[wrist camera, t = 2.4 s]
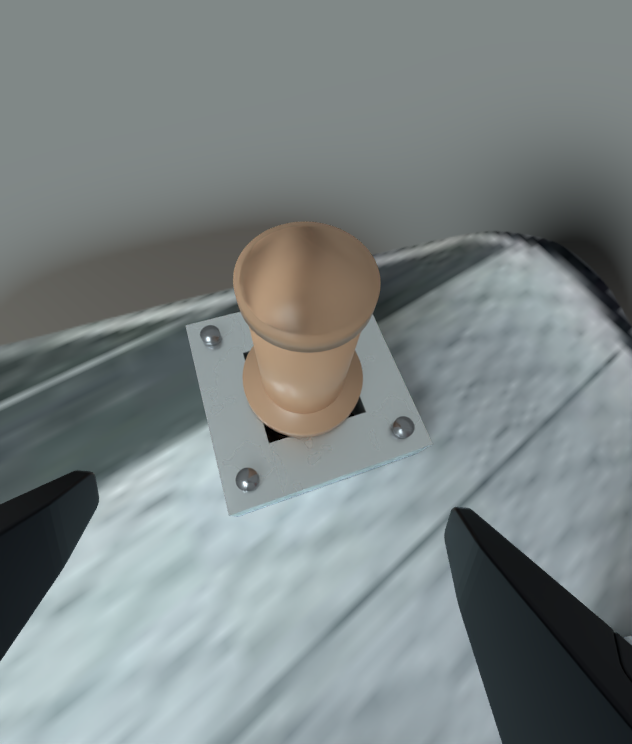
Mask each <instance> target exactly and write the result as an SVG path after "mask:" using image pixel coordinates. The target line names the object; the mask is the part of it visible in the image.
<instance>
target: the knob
mask: <svg viewBox="0 0 632 744" xmlns="http://www.w3.org/2000/svg"><path fill="white" fill-rule="evenodd" d="M233 283H234V284H233V285H234V291H235V295H236V299H237V303H238V306H239V309H240V312H241V315H242V316H243V318H244V320H245V322H246V323H247V324H248V326H249V328H250V332H251V337H252V341H253V345H254V346H253V347H252V348H251V350H250V352H249V353H248V355H247V358H246V360H245V363H244V368H243V376H242V377H243V387H244V392H245V394H246V397H247V400H248V402H249V405H250V407H251V409H252V410H253V412H254V413H255V415H256V416H257V417H258V418H259V419H260V420H261V421H262V422H263V423H264V424H265V425H266V426H268V427H269V428H271V429H273V430H274V431H276V432H279V433H281V434H284V435H287V436H292V437H314V436H318V435H322V434H325V433H327V432H329V431H331V430H333V429H335V428H336V427H338V426H339V425H340V424H342V423H343V422H344V421H345V420H346V419H347V418H348V416H349V415H350V414H351V412H352V411H353V409H354V407H355V405H356V403H357V401H358V399H359V397H360V394H361V390H362V385H363V371H362V366H361V363H360V360H359V357H358V355H357V353H356V351H355V348H356V345H357V342H358V339H359V336H360V333H361V331H362V330H363V329H364V328H365V327H366V325H367V324H368V322H369V320H370V319H371V317H372V314H373V312H374V309H375V306H376V303H377V301H378V297H379V293H380V285H381V282H380V274H379V270H378V266H377V264H376V262H375V260H374V258H373V256H372V254H371V253H370V252H369V250H368V249H367V248H366V247H365V246H364V245H363V244H362V243H361V242H360V241H359V240H358V239H356V238H355V237H354V236H352V235H350V234H349V233H347V232H345V231H343V230H341V229H339V228H336V227H333V226H330V225H326V224H323V223H316V222H293V223H287V224H283V225H279V226H276V227H273V228H271V229H269V230H267V231H265V232H263V233H261V234H260V235H258V236H257V237H255V238H254V239H253V240H252V241H251V242H250V243H249V244H248V245H247V246H246V247H245V248H244V250H243V251H242V253H241V254H240V256H239V258H238V260H237V262H236V265H235V269H234V276H233Z"/></svg>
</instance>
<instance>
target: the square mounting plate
mask: <svg viewBox="0 0 632 744" xmlns="http://www.w3.org/2000/svg"><path fill="white" fill-rule="evenodd" d="M186 329H187V333H188V338H189V342H190V347H191V351H192V355H193V360H194V364H195V369H196V373H197V377H198V382H199V386H200V390H201V395H202V399H203V404H204V408H205V412H206V417H207V421H208V426H209V430H210V434H211V439H212V443H213V448H214V452H215V456H216V461H217V465H218V469H219V474H220V478H221V483H222V487H223V491H224V496H225V500H226V505H227V509H228V513H229V516H236V517H239V516H241V515H244V514H247V513H250V512H253V511H256V510H258V509H261V508H264V507H267V506H270V505H273V504H275V503H278V502H281V501H284V500H287V499H290V498H292V497H295V496H298V495H301V494H304V493H307V492H309V491H312V490H315V489H318V488H321V487H324V486H326V485H329V484H332V483H335V482H338V481H341V480H343V479H346V478H349V477H352V476H355V475H358V474H360V473H363V472H366V471H369V470H372V469H375V468H377V467H380V466H383V465H386V464H389V463H392V462H394V461H397V460H400V459H403V458H406V457H409V456H411V455H414V454H417V453H419V452H420V451H422V450H424V449H426V448H427V447H429V446H431V445H432V444H433V443H432V441H431V438H430V436H429V434H428V432H427V430H426V428H425V426H424V423H423V421H422V419H421V417H420V415H419V413H418V410H417V408H416V406H415V404H414V402H413V400H412V398H411V395H410V393H409V391H408V389H407V387H406V385H405V383H404V380H403V378H402V376H401V374H400V372H399V370H398V367H397V365H396V363H395V361H394V359H393V357H392V355H391V352H390V350H389V348H388V346H387V344H386V342H385V339H384V337H383V335H382V333H381V331H380V329H379V327H378V324H377V322H376V320H375V318H374V316H373V314H372V317H371V319H370V320H369V322H368V324H367V325H366V327H365V328H364V329H363V330H362V331H361V333H360V336H359V339H358V342H357V345H356V348H355V351H356V353H357V355H358V357H359V360H360V363H361V366H362V371H363V385H362V390H361V394H360V397H359V399H358V401H357V403H356V405H355V407H354V409H353V413H354V415H355V416H352V417H349V418H347V419H346V420H345V421H344V422H343V423H342V424H340V425H339V426H338V427H336V428H335V429H333V430H331V431H329V432H327V433H325V434H322V435H318V436H314V437H292V436H290V437H287V438H284V439H281V440H278V441H275V442H272V443H269V440H268V437H267V433H266V430H265V426H264V423H263V422H262V421H261V420H260V419H259V418H258V417H257V416H256V415H255V413H254V412H253V410H252V409H251V407H250V405H249V402H248V400H247V397H246V394H245V392H244V387H243V377H242V376H243V368H244V363H245V360H246V358H247V355H248V353H249V352H250V350H251V348H252V347H253V346H254V345H253V341H252V337H251V332H250V328H249V326H248V324H247V323H246V322H245V320H244V318H243V316H242V315H241V312H237V313H233V314H229V315H225V316H221V317H217V318H213V319H209V320H205V321H202V322H198V323H194V324H190V325H186Z"/></svg>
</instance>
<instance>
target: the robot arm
mask: <svg viewBox="0 0 632 744" xmlns="http://www.w3.org/2000/svg"><path fill="white" fill-rule="evenodd" d="M98 503H99V494H98V488H97V482H96V477H95V474H94V473H93V472H90V471H80V470H77V471H73V472H71V473H69V474H66V475H64V476H62V477H60V478H57V479H55V480H53V481H51V482H49V483H46V484H44V485H42V486H40V487H38V488H35V489H33V490H31V491H29V492H27V493H24V494H22V495H20V496H18V497H16V498H13V499H11V500H9V501H7V502H4V503H2V504H0V661H1V660H2V658H3V657H4V655H5V654H6V652H7V651H8V649H9V648H10V646H11V645H12V643H13V642H14V640H15V639H16V637H17V636H18V634H19V633H20V632H21V630H22V629H23V627H24V626H25V624H26V623H27V621H28V620H29V618H30V617H31V615H32V614H33V612H34V611H35V609H36V608H37V606H38V605H39V604H40V602H41V601H42V599H43V598H44V596H45V595H46V593H47V592H48V590H49V589H50V587H51V586H52V584H53V583H54V581H55V580H56V578H57V577H58V575H59V574H60V572H61V571H62V569H63V568H64V566H65V564H66V563H67V561H68V559H69V558H70V556H71V554H72V552H73V550H74V548H75V547H76V545H77V543H78V541H79V539H80V538H81V536H82V534H83V532H84V530H85V528H86V527H87V525H88V523H89V521H90V519H91V518H92V516H93V514H94V512H95V510H96V508H97V506H98ZM444 538H445V545H446V549H447V554H448V559H449V563H450V568H451V573H452V578H453V582H454V587H455V592H456V596H457V601H458V605H459V608H460V612H461V615H462V618H463V621H464V624H465V628H466V631H467V634H468V637H469V640H470V643H471V646H472V650H473V653H474V656H475V659H476V662H477V665H478V669H479V672H480V675H481V678H482V681H483V684H484V687H485V691H486V694H487V697H488V700H489V703H490V706H491V709H492V713H493V716H494V719H495V722H496V725H497V728H498V731H499V735H500V738H501V741H502V744H632V645H631V644H630V643H629V642H628V641H626V640H625V639H624V638H623V637H622V636H620V635H619V634H618V633H614V631H613V629H612V628H611V627H610V626H608V625H607V624H606V623H605V622H604V621H603V620H601V619H600V618H599V617H598V616H597V615H595V614H594V613H593V612H592V611H591V610H590V609H588V608H587V607H586V606H585V605H584V604H583V603H581V602H580V601H579V600H578V599H577V598H575V597H574V596H573V595H572V594H571V593H570V592H568V591H567V590H566V589H565V588H564V587H562V586H561V585H560V584H559V583H558V582H557V581H555V580H554V579H553V578H552V577H551V576H549V575H548V574H547V573H546V572H545V571H544V570H542V569H541V568H540V567H539V566H538V565H536V564H535V563H534V562H533V561H532V560H531V559H529V558H528V557H527V556H526V555H525V554H524V553H522V552H521V551H520V550H519V549H518V548H516V547H515V546H514V545H513V544H512V543H511V542H509V541H508V540H507V539H506V538H505V537H503V536H502V535H501V534H500V533H499V532H498V531H496V530H495V529H494V528H493V527H492V526H490V525H489V524H488V523H487V522H486V521H485V520H483V519H482V518H481V517H480V516H479V515H478V514H476V513H475V512H474V511H473V510H471V509H470V508H463V507H454V508H453V509H452V510H451V513H450V516H449V519H448V522H447V526H446V529H445V534H444Z"/></svg>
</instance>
